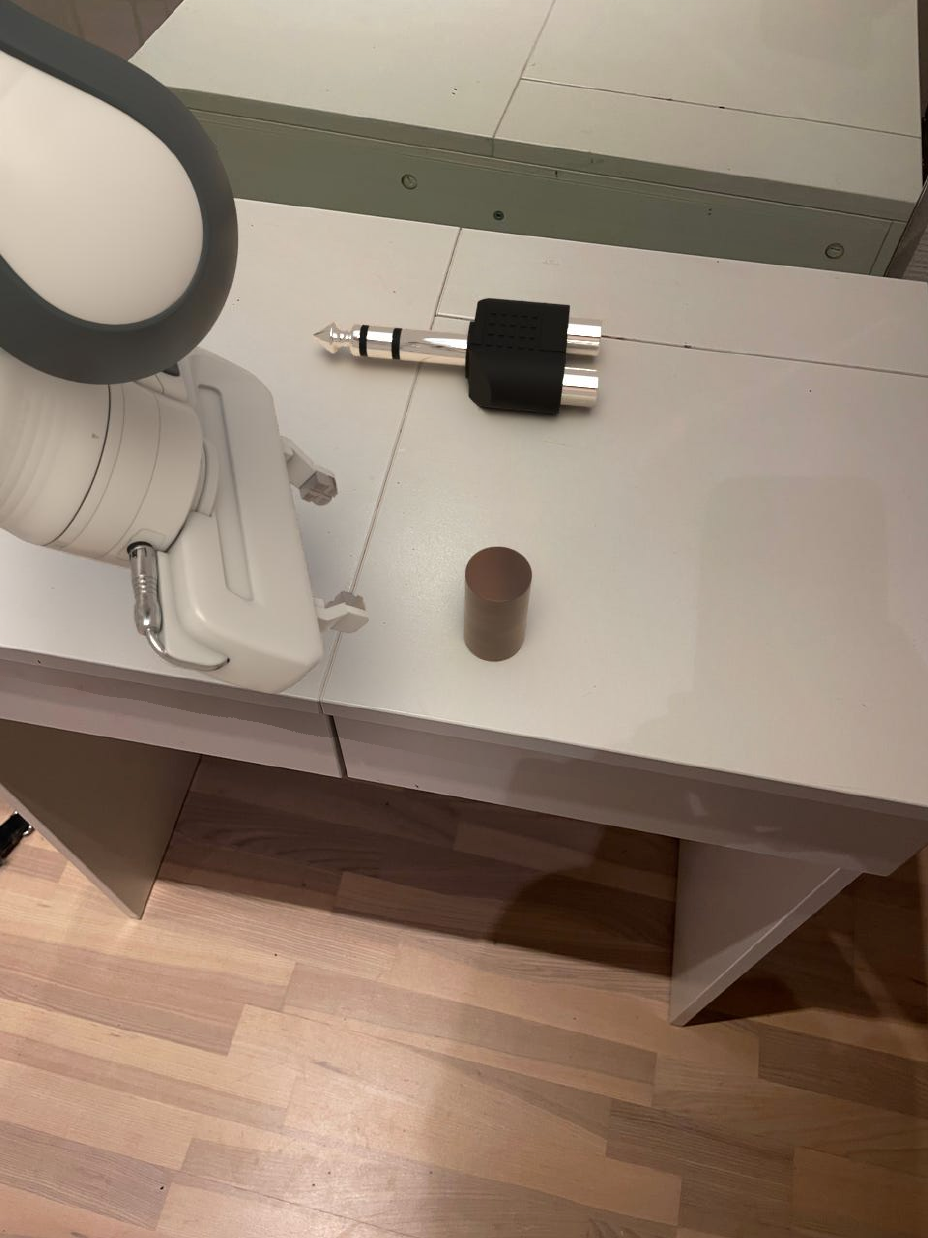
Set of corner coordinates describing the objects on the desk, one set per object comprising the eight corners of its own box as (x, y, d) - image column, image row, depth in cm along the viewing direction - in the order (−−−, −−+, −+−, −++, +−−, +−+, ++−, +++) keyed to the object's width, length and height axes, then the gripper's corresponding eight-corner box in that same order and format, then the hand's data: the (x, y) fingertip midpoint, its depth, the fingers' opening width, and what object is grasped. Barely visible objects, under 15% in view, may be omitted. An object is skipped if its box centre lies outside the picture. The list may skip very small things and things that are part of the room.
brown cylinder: (470, 666, 62) (472, 606, 56) (458, 614, 65) (458, 551, 58) (530, 656, 63) (539, 595, 56) (516, 605, 65) (523, 541, 58)
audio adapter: (600, 382, 70) (294, 354, 71) (591, 430, 74) (303, 402, 76) (605, 293, 75) (321, 269, 77) (597, 342, 80) (329, 318, 81)
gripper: (177, 620, 36) (418, 676, 45) (142, 295, 46) (346, 397, 56) (103, 692, 39) (343, 729, 49) (86, 373, 49) (288, 457, 59)
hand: (344, 550), depth 52 cm, fingers open, 8 cm apart
